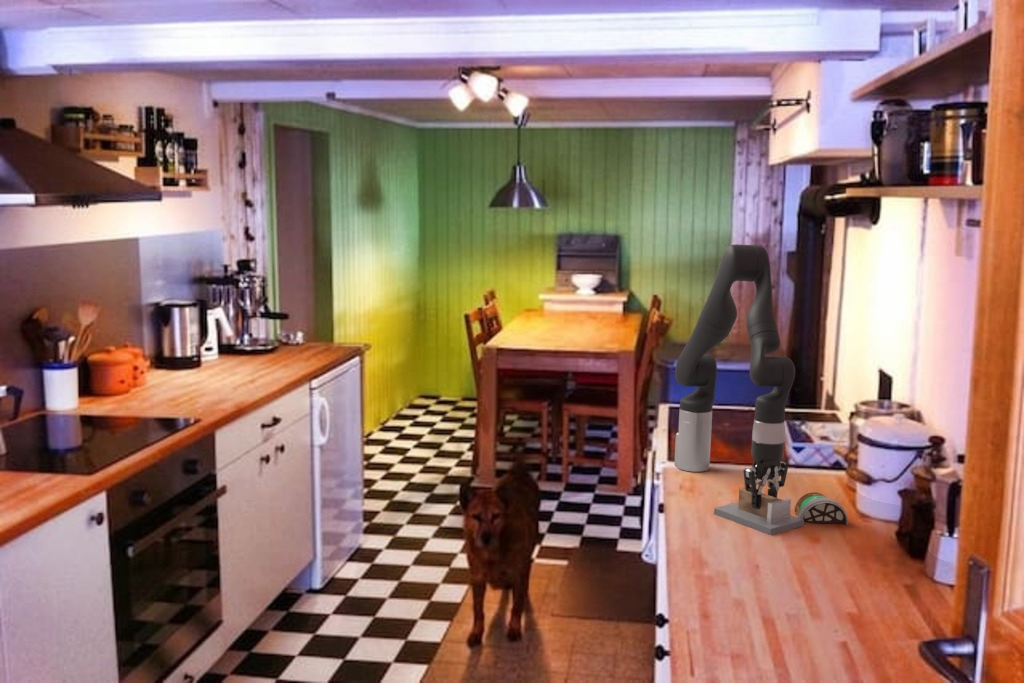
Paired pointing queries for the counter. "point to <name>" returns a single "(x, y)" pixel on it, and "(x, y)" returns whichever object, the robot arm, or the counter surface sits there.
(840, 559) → the counter surface
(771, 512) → the brown and grey block
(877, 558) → the counter surface
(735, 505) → the grey cutting board
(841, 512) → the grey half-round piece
